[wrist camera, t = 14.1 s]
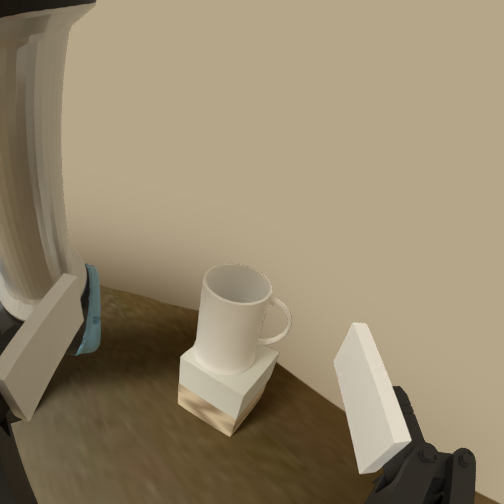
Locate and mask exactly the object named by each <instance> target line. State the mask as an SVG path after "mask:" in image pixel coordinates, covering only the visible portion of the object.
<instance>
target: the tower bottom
mask: <svg viewBox="0 0 504 504" xmlns="http://www.w3.org/2000/svg"><path fill="white" fill-rule="evenodd" d="M265 386H266V384H265V385H264V386H263V388H262V389H261V390H260V391H259V393H258V394H257V395H256V396H255V398H254V399H253V400H252V401H251V403H250V404H249V405H248V406H247V407H246V409H245V410H244V411H243V412H242V413H241V415H240V416H239V417H238V418H237V419H234V418H233V417H231V416H229V415H228V414H226V413H224V412H223V411H221V410H220V409H218V408H216V407H215V406H213V405H212V404H210V403H208V402H207V401H205V400H204V399H202V398H201V397H199V396H198V395H196V394H195V393H193V392H192V391H190V390H189V389H188V388H186V387H185V386H183V385H182V384H180V383H179V385H178V404H179V405H181V406H182V407H184V408H185V409H186V410H188V411H189V412H191V413H192V414H194V415H196V416H197V417H199V418H200V419H202V420H203V421H205V422H206V423H208V424H210V425H211V426H213V427H214V428H216V429H218V430H219V431H221V432H223V433H224V434H226V435H228V436H229V437H231V436H232V434H233V433H234V432H235V431H236V429H237V428H238V427H239V426H240V424H241V423H242V422H243V420H244V419H245V418H246V417H247V415H248V414H249V413H250V411H251V410H252V409H253V407H254V406H255V405H256V404H257V402H258V401H259V400H260V398H261V397H262V394H263V391H264V389H265Z"/></svg>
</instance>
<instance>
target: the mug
mask: <svg viewBox="0 0 504 504" xmlns="http://www.w3.org/2000/svg"><path fill="white" fill-rule="evenodd" d="M271 294H272V284H271V282H270V281H269V279H268V278H267V277H266V276H265V275H264V274H262V273H261V272H259V271H258V270H256V269H254V268H251V267H248V266H244V265H240V264H221V265H216V266H214V267H212V268H210V269H209V270H208V271H207V272H206V273H205V275H204V278H203V285H202V293H201V301H200V309H199V318H198V327H197V336H196V341H195V343H194V347H193V351H194V355H195V358H196V360H197V361H198V362H199V364H200V365H201V366H203V367H204V368H205V369H207V370H209V371H211V372H213V373H216V374H220V375H236V374H240V373H242V372H244V371H246V370H247V369H249V368H250V367H251V365H252V364H253V362H254V359H255V350H256V346H260V345H268V344H272V343H275V342H277V341H279V340H281V339H282V338H284V337H285V336H286V335H287V333H288V332H289V330H290V328H291V324H292V317H291V313H290V311H289V309H288V307H287V306H286V305H285V304H284V303H283V302H282V301H281V300H279V299H277V298H275V297H273V296H272V295H271ZM268 305H272V306H276V307H278V308H279V309H281V310H282V311H283V312H284V313H285V314H286V316H287V319H288V324H287V327H286V329H285V330H284V331H283V332H282V333H281V334H279V335H277V336H275V337H271V338H260V337H259V336H260V332H261V329H262V326H263V322H264V319H265V315H266V312H267V308H268Z"/></svg>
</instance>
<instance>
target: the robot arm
mask: <svg viewBox="0 0 504 504" xmlns="http://www.w3.org/2000/svg"><path fill="white" fill-rule="evenodd" d="M95 4H96V0H0V504H38V503H37V500H36V498H35V496H34V493H33V491H32V488H31V486H30V483H29V481H28V478H27V475H26V473H25V470H24V467H23V464H22V461H21V458H20V455H19V452H18V449H17V445H16V442H15V438H14V435H13V431H12V427H11V422H15V421H17V420H19V419H23V420H25V421H27V422H30V420H31V418H32V416H33V414H34V412H35V409H36V407H37V405H38V403H39V401H40V399H41V397H42V395H43V393H44V391H45V389H46V387H47V385H48V383H49V381H50V380H51V378H52V376H53V374H54V372H55V370H56V368H57V366H58V365H59V363H60V361H61V359H62V357H63V356H64V355H73V356H77V355H79V354H83V353H91V352H94V351H96V350H97V349H98V347H99V345H100V340H101V320H100V311H101V307H100V284H99V274H98V270H97V268H96V267H95V266H93V265H88V264H84V261H83V259H82V257H81V255H80V254H79V253H78V251H77V250H76V249H75V248H73V247H72V246H71V245H69V239H68V232H67V223H66V215H65V205H64V193H63V179H62V158H61V111H62V91H63V77H64V66H65V57H66V49H67V42H68V35H69V31H70V28H71V26H72V25H73V24H74V23H75V22H76V21H78V20H79V19H80V18H81V17H82V16H83V15H85V14H86V13H87V12H88V11H89V10H91V9H92V8H93V7H94V6H95ZM333 362H334V366H335V370H336V374H337V378H338V382H339V386H340V390H341V394H342V398H343V403H344V406H345V411H346V415H347V419H348V424H349V428H350V433H351V437H352V442H353V446H354V451H355V455H356V460H357V465H358V470H359V474H365V473H373V472H376V471H377V470H379V469H380V468H381V467H382V466H383V469H384V473H383V474H381V475H380V476H379V477H377V478H376V479H375V480H374V481H373V482H372V483H373V484H374V483H376V482H377V481H378V482H377V483H376V485H375V487H374V489H373V490H372V492H371V494H370V495H369V497H368V498H367V500H366V502H365V503H364V504H474V497H475V478H476V460H475V457H474V455H473V453H472V452H471V451H470V450H469V449H466V448H460V449H458V450H456V451H455V452H454V453H453V454H450V453H442V452H438V451H437V450H436V448H435V447H434V446H433V445H432V444H430V443H427V442H425V440H424V438H423V436H422V433H421V430H420V427H419V424H418V422H417V419H416V417H415V415H414V414H413V409H412V406H410V405H411V404H410V401H409V398H408V396H407V394H406V393H405V392H404V391H403V389H402V388H401V387H400V386H392V385H391V382H390V379H389V377H388V374H387V372H386V369H385V367H384V364H383V362H382V359H381V357H380V355H379V352H378V349H377V347H376V345H375V342H374V340H373V337H372V335H371V333H370V330H369V328H368V326H367V324H365V323H355V322H353V323H352V325H351V327H350V329H349V331H348V333H347V335H346V338H345V339H344V341H343V343H342V346H341V347H340V349H339V351H338V353H337V356H336V357H335V359H334V361H333Z"/></svg>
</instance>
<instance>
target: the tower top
mask: <svg viewBox="0 0 504 504" xmlns="http://www.w3.org/2000/svg"><path fill="white" fill-rule="evenodd" d="M193 347H194V346H193ZM193 347H191V348H190V349H189V350H188V351H187V352H185V353H184V354H183V355H182V356H180V376H179V383H180V384H182V385H183V386H185V387H186V388H188V389H189V390H190V391H192V392H193V393H195V394H196V395H198V396H199V397H201V398H202V399H204V400H205V401H207V402H208V403H210V404H212V405H213V406H215V407H216V408H218V409H220V410H221V411H223V412H224V413H226V414H228V415H229V416H231V417H233V418H234V419H237V418H238V417H239V416H240V415H241V413H242V412H243V411H244V410H245V409H246V407H247V406H248V405H249V404H250V403H251V401H252V400H253V399H254V398H255V396H256V395H257V394H258V393H259V391H260V390H261V389H262V388H263V386H264V385H265V384H266V383H267V381H268V380H269V379H270V377H271V374H272V372H273V369H274V366H275V364H276V361H277V358H278V355H279V352H278V351H276V350H274V349H272V348H270V347H268V346H266V345H260V346H256V350H255V359H254V362H253V364H252V365H251V367H250V368H249V369H247V370H246V371H244V372H242V373H240V374H236V375H220V374H216V373H213V372H211V371H209V370H207V369H205V368H204V367H203V366H201V365H200V364H199V362H198V361H197V360H196V358H195V355H194V351H193Z"/></svg>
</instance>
